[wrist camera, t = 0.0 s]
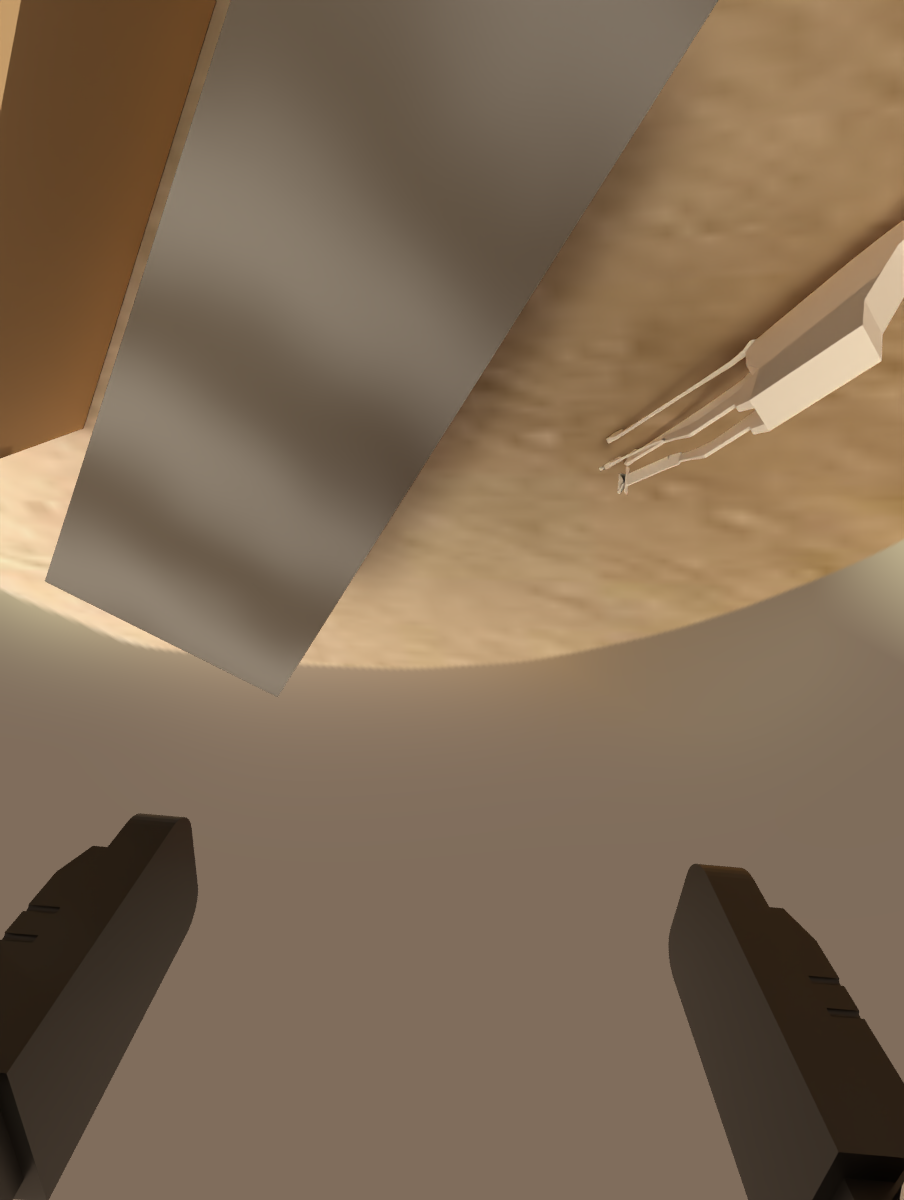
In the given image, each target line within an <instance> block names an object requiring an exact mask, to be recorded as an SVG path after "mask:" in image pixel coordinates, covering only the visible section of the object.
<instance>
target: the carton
mask: <svg viewBox="0 0 904 1200" xmlns="http://www.w3.org/2000/svg"><path fill="white" fill-rule="evenodd" d="M215 2H216V0H0V458H3V457H5V456H8V455H11V454H14V453H16V452H19V451H22V450H25V449H27V448H30V447H33V446H36V445H39V444H41V443H44V442H47V441H50V440H52V439H55V438H58V437H61V436H63V435H66V434H69V433H72V432H74V431H77V430H80V429H83V427H84V424H85V421H86V418H87V414H88V411H89V408H90V405H91V401H92V398H93V395H94V392H95V389H96V385H97V382H98V379H99V376H100V372H101V369H102V366H103V363H104V360H105V356H106V353H107V350H108V347H109V344H110V340H111V337H112V334H113V331H114V327H115V324H116V321H117V318H118V315H119V311H120V308H121V305H122V302H123V298H124V295H125V292H126V289H127V286H128V282H129V279H130V276H131V273H132V270H133V266H134V263H135V260H136V257H137V253H138V250H139V247H140V244H141V241H142V237H143V234H144V231H145V228H146V224H147V221H148V218H149V215H150V212H151V208H152V205H153V202H154V199H155V195H156V192H157V189H158V186H159V183H160V179H161V176H162V173H163V170H164V167H165V163H166V160H167V157H168V154H169V150H170V147H171V144H172V141H173V138H174V134H175V131H176V128H177V125H178V121H179V118H180V115H181V112H182V109H183V105H184V102H185V99H186V96H187V92H188V89H189V86H190V83H191V80H192V76H193V73H194V70H195V67H196V64H197V60H198V57H199V54H200V51H201V47H202V44H203V41H204V38H205V35H206V31H207V28H208V25H209V22H210V18H211V15H212V12H213V9H214V6H215Z"/></svg>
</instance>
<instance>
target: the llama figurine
mask: <svg viewBox="0 0 904 1200" xmlns="http://www.w3.org/2000/svg"><path fill="white" fill-rule="evenodd" d="M903 298H904V220H903V221H901V222H900V223H899V224H897V225H896V226H895V227H893V228H892V229H891V230H889V231H888V232H887V233H885V234H884V235H883V236H881V237H880V238H879V239H878V240H876V241H875V242H874V243H872V244H871V245H870V246H869V247H867V248H866V249H865V250H864V251H862V252H861V253H860V254H858V255H857V256H856V257H855V258H853V259H852V260H851V261H850V262H848V263H847V264H846V265H845V266H844V267H842V268H841V269H840V270H839V271H838V272H836V273H835V274H834V275H833V276H832V277H830V278H829V279H828V280H827V281H826V282H824V283H823V284H822V285H821V286H820V287H818V288H817V289H816V290H815V291H814V292H812V293H811V294H810V295H809V296H808V297H806V298H805V299H804V300H803V301H802V302H800V303H799V304H798V305H797V306H795V307H794V308H793V309H792V310H791V311H789V312H788V313H787V314H786V315H785V316H783V317H782V318H781V319H780V320H779V321H777V322H776V323H775V324H774V325H773V326H771V327H770V328H769V329H768V330H767V331H765V332H764V333H763V334H762V335H761V336H760V337H758V338H757V339H754V340H751V341H749V343H748V344H747V345H746V347H745V348H744V349H743V351H742V352H740V353H739V354H738V355H737V356H736V357H734V358H733V359H732V360H731V361H730V362H728V363H727V364H725V365H724V366H722V367H721V368H719V369H718V370H716V371H715V372H713V373H712V374H710V375H709V376H707V377H706V378H704V379H703V380H701V381H700V382H698V383H697V384H695V385H694V386H692V387H691V388H689V389H688V390H686V391H685V392H683V393H681V394H680V395H678V396H677V397H675V398H674V399H672V400H670V401H669V402H667V403H666V404H664V405H663V406H661V407H659V408H658V409H656V410H655V411H653V412H652V413H650V414H648V415H647V416H645V417H644V418H642V419H640V420H639V421H637V422H636V423H634V424H633V425H631V426H629V427H628V428H626V429H625V430H623V429H620V430H618V431H616V432H615V433H613V434H612V435H611V436H609V437H608V438H607V439H606V440H607V443H611V442H613V441H615V440H617V439H618V438H620V437H621V436H623V435H624V434H626V433H628V432H629V431H631V430H632V429H634V428H635V427H637V426H638V425H640V424H641V423H643V422H645V421H646V420H648V419H649V418H651V417H652V416H654V415H655V414H657V413H658V412H660V411H662V410H663V409H665V408H666V407H668V406H669V405H671V404H672V403H674V402H675V401H677V400H679V399H680V398H682V397H683V396H685V395H686V394H688V393H689V392H691V391H693V390H694V389H696V388H698V387H699V386H701V385H703V384H704V383H706V382H707V381H709V380H711V379H712V378H714V377H716V376H717V375H719V374H720V373H722V372H724V371H725V370H727V369H729V368H730V367H732V366H733V365H734V364H736V363H737V362H739V361H740V360H742V359H743V358H745V357H746V366H747V368H748V369H749V371H750V372H749V373H748V374H747V375H746V376H745V377H744V378H743V379H742V380H741V381H739V382H738V383H737V384H735V385H734V386H732V387H731V388H730V389H728V390H727V391H725V392H724V393H723V394H721V395H720V396H718V397H717V398H716V399H714V400H713V401H711V402H710V403H709V404H707V405H706V406H704V407H703V408H701V409H700V410H698V411H697V412H695V413H694V414H692V415H691V416H689V417H688V418H686V419H685V420H683V421H682V422H680V423H679V424H677V425H676V426H674V427H672V428H671V429H669V430H668V431H666V432H665V433H663V434H662V435H660V436H659V437H657V438H656V439H654V440H653V441H651V442H650V443H648V444H647V445H645V446H643V447H642V448H640V449H638V450H637V449H634V450H633V451H632V452H631V453H629V454H627V455H625V456H623V457H620V456H619V457H617V458H615V459H614V460H612V461H610V462H608V463H606V464H605V465H603V466H602V467H600V468H599V469H600V471H602V470H604V469H606V470H607V469H608V468H610V467H612V466H614V465H615V464H617V463H619V462H621V461H622V460H623V459H625V458H627V459H626V461H625V462H624V464H625V465H626V474H621V473H619V481H618V492H617V493H619V494H621V492H622V491H623V489H624V493H625V494H626V495H628V486H629V485H631V484H634V483H636V482H638V481H641V480H643V479H645V478H648V477H650V476H652V475H655V474H657V473H659V472H662V471H664V470H666V469H669V468H672V467H674V466H677V465H679V464H680V462H684V461H688V460H694V459H702V458H706V457H708V456H709V455H711V454H713V453H714V452H716V451H717V450H719V449H721V448H722V447H724V446H725V445H727V444H729V443H730V442H732V441H733V440H735V439H737V438H738V437H740V436H741V435H743V434H745V433H746V432H748V431H749V430H751V431H752V433H753V434H759V433H764V432H769V431H771V430H772V429H774V428H776V427H777V426H779V425H780V424H782V423H784V422H785V421H787V420H788V419H790V418H791V417H793V416H795V415H796V414H798V413H799V412H801V411H803V410H804V409H806V408H807V407H809V406H811V405H812V404H814V403H815V402H817V401H819V400H820V399H822V398H823V397H825V396H827V395H828V394H830V393H831V392H833V391H834V390H836V389H838V388H839V387H841V386H842V385H844V384H846V383H847V382H849V381H850V380H852V379H854V378H855V377H857V376H858V375H860V374H862V373H863V372H865V371H866V370H868V369H870V368H871V367H873V366H874V365H876V364H878V363H879V362H881V361H882V336H883V333H884V331H885V329H886V328H887V326H888V324H889V322H890V321H891V319H892V317H893V315H894V314H895V312H896V310H897V308H898V306H899V305H900V303H901V301H902V300H903ZM734 408H736V409H737V410H738V412H741V411H745V410H750V409H754V408H755V411H754V412H752V413H751V414H749V415H748V416H747V417H745V418H744V419H743V420H741V421H740V422H738V423H737V424H736V425H734V426H733V427H731V428H730V429H729V430H727V431H726V432H724V433H723V434H721V435H720V436H719V437H717V438H716V439H714V440H713V441H711V442H709V443H707V444H704V445H702V446H700V447H698V448H696V449H694V450H691V451H688V452H685V453H681V452H679V453H676V454H673V455H669V456H667V457H665V458H663V459H660V460H658V461H656V462H654V463H651V464H649V465H647V466H645V467H642V468H640V469H638V470H636V471H634V472H631V473H629V470H630V468H628V467H627V466H629V465H630V464H632V463H633V462H634V461H636V460H638V459H639V458H641V457H642V456H644V455H646V454H647V453H649V452H651V451H652V450H654V449H656V448H657V447H659V446H661V445H662V444H664V443H667V442H670V441H673V440H677V439H683V438H689V437H692V436H693V435H695V434H696V433H698V432H699V431H701V430H702V429H704V428H705V427H707V426H708V425H710V424H711V423H713V422H715V421H716V420H718V419H719V418H721V417H722V416H724V415H725V414H727V413H728V412H730V411H731V410H733V409H734Z"/></svg>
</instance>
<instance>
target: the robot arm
mask: <svg viewBox="0 0 904 1200" xmlns="http://www.w3.org/2000/svg"><path fill="white" fill-rule="evenodd" d="M197 896H198V884H197V875H196V866H195V856H194V847H193V838H192V828H191V824H190V821H189V819H187V818H185V817H173V816H163V815H151V814H136V815H135V816H133V817H132V818H131V819H130V820H129V821H128V822H127V823H126V824H125V826H124V827H123V828H122V830H121V831H120V832H119V834H118V835H117V836H116V837H115V839H114V840H113V841H112V843H111V844H110V845H109V846H108V847H99V846H92V847H91V848H89V849H88V850H86V851H85V852H84V853H82V854H81V855H79V856H78V857H77V858H75V859H74V860H72V861H71V862H70V863H68V864H67V865H66V866H64V867H63V868H61V869H60V870H58V871H57V872H56V873H55V874H54V875H53V876H52V878H51V879H50V880H49V881H48V882H47V884H46V885H45V886H44V887H43V888H42V889H41V891H40V892H39V893H38V894H37V895H36V896H35V898H34V899H33V900H32V901H31V902H30V903H29V907H28V909H27V911H23V912H22V913H21V914H20V915H19V916H18V918H17V919H16V920H15V921H14V922H13V924H12V925H11V926H10V927H9V928H8V929H7V931H6V932H5V936H4V938H3V939H2V940H0V1200H13V1199H21V1200H49V1198H50V1196H51V1194H52V1192H53V1190H54V1188H55V1187H56V1184H57V1183H58V1181H59V1179H60V1177H61V1175H62V1173H63V1171H64V1169H65V1167H66V1165H67V1163H68V1161H69V1159H70V1158H71V1156H72V1154H73V1152H74V1150H75V1148H76V1146H77V1144H78V1142H79V1140H80V1138H81V1136H82V1134H83V1133H84V1130H85V1128H86V1127H87V1125H88V1123H89V1121H90V1119H91V1117H92V1115H93V1113H94V1111H95V1109H96V1107H97V1105H98V1104H99V1102H100V1100H101V1098H102V1096H103V1094H104V1092H105V1090H106V1088H107V1086H108V1084H109V1082H110V1080H111V1078H112V1076H113V1075H114V1073H115V1070H116V1069H117V1067H118V1065H119V1063H120V1061H121V1059H122V1057H123V1055H124V1053H125V1051H126V1050H127V1047H128V1046H129V1044H130V1042H131V1040H132V1038H133V1036H134V1034H135V1032H136V1030H137V1028H138V1026H139V1024H140V1022H141V1021H142V1019H143V1017H144V1015H145V1013H146V1011H147V1009H148V1007H149V1005H150V1003H151V1001H152V999H153V997H154V996H155V994H156V992H157V990H158V988H159V986H160V984H161V982H162V980H163V978H164V976H165V974H166V972H167V970H168V968H169V966H170V964H171V963H172V961H173V959H174V957H175V955H176V953H177V951H178V949H179V947H180V945H181V943H182V942H183V940H184V938H185V936H186V934H187V932H188V930H189V927H190V925H191V922H192V919H193V915H194V912H195V908H196V903H197ZM669 959H670V966H671V970H672V974H673V978H674V981H675V984H676V987H677V990H678V993H679V996H680V999H681V1002H682V1005H683V1007H684V1011H685V1014H686V1016H687V1019H688V1022H689V1025H690V1028H691V1031H692V1034H693V1037H694V1040H695V1043H696V1046H697V1049H698V1052H699V1055H700V1058H701V1061H702V1064H703V1067H704V1070H705V1073H706V1076H707V1079H708V1082H709V1085H710V1087H711V1091H712V1093H713V1097H714V1100H715V1103H716V1105H717V1108H718V1111H719V1114H720V1117H721V1120H722V1123H723V1126H724V1129H725V1132H726V1135H727V1138H728V1141H729V1144H730V1147H731V1150H732V1153H733V1156H734V1158H735V1162H736V1165H737V1168H738V1171H739V1174H740V1176H741V1179H742V1183H743V1185H744V1188H745V1191H746V1194H747V1197H748V1200H904V1083H903V1082H902V1080H901V1078H900V1077H899V1075H898V1073H897V1071H896V1070H895V1068H894V1067H893V1065H892V1063H891V1062H890V1060H889V1058H888V1057H887V1055H886V1054H885V1052H884V1051H883V1049H882V1047H881V1045H880V1044H879V1042H878V1041H877V1039H876V1038H875V1036H874V1034H873V1033H872V1031H871V1029H870V1028H869V1026H868V1025H867V1023H866V1021H865V1019H861V1018H860V1016H859V1010H858V1008H857V1006H856V1005H855V1003H854V1002H853V1000H852V998H851V997H850V995H849V993H848V992H847V990H846V989H845V987H844V986H841V985H840V983H839V977H838V976H837V974H836V972H835V971H834V969H833V967H832V966H831V964H830V963H829V961H828V959H827V958H826V956H825V954H824V953H823V951H822V950H821V948H820V946H819V945H818V943H817V941H816V940H815V939H814V938H813V937H812V936H811V935H810V934H809V933H808V932H807V931H805V929H803V928H802V926H801V925H800V924H799V923H798V922H796V921H795V920H794V919H793V918H792V917H791V916H790V915H789V914H788V913H787V912H786V911H785V910H784V909H783V908H772V907H769V906H768V904H767V902H766V901H765V899H764V897H763V895H762V894H761V892H760V890H759V888H758V886H757V885H756V883H755V881H754V880H753V878H752V877H751V875H750V874H749V873H748V871H746V870H745V869H743V868H736V867H725V866H713V865H702V864H693V865H692V866H691V867H690V868H689V870H688V873H687V876H686V879H685V883H684V886H683V889H682V893H681V896H680V899H679V903H678V906H677V909H676V913H675V916H674V919H673V923H672V926H671V929H670V935H669Z"/></svg>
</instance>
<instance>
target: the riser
mask: <svg viewBox="0 0 904 1200" xmlns="http://www.w3.org/2000/svg"><path fill="white" fill-rule="evenodd" d="M717 2H718V0H231V2H230V5H229V8H228V11H227V14H226V17H225V20H224V23H223V27H222V30H221V33H220V36H219V39H218V42H217V45H216V48H215V52H214V55H213V58H212V61H211V64H210V67H209V70H208V73H207V77H206V80H205V83H204V86H203V89H202V92H201V95H200V98H199V101H198V105H197V108H196V111H195V114H194V117H193V120H192V123H191V126H190V130H189V133H188V136H187V139H186V142H185V145H184V148H183V151H182V155H181V158H180V161H179V164H178V167H177V170H176V173H175V176H174V180H173V183H172V186H171V189H170V192H169V195H168V198H167V201H166V205H165V208H164V211H163V214H162V217H161V220H160V223H159V226H158V230H157V233H156V236H155V239H154V242H153V245H152V248H151V251H150V255H149V258H148V261H147V264H146V267H145V270H144V273H143V276H142V280H141V283H140V286H139V289H138V292H137V295H136V298H135V301H134V305H133V308H132V311H131V314H130V317H129V320H128V323H127V326H126V329H125V333H124V336H123V339H122V342H121V345H120V348H119V351H118V354H117V358H116V361H115V364H114V367H113V370H112V373H111V376H110V379H109V383H108V386H107V389H106V392H105V395H104V398H103V401H102V404H101V408H100V411H99V414H98V417H97V420H96V423H95V426H94V429H93V433H92V436H91V439H90V442H89V445H88V448H87V451H86V454H85V458H84V461H83V464H82V467H81V470H80V473H79V476H78V479H77V483H76V486H75V489H74V492H73V495H72V498H71V501H70V504H69V508H68V511H67V514H66V517H65V520H64V523H63V526H62V529H61V533H60V536H59V539H58V542H57V545H56V548H55V551H54V554H53V558H52V561H51V564H50V567H49V570H48V573H47V576H46V579H45V582H47V583H49V584H51V585H53V586H55V587H57V588H59V589H61V590H63V591H65V592H67V593H69V594H71V595H73V596H75V597H77V598H79V599H81V600H83V601H85V602H87V603H89V604H91V605H93V606H95V607H97V608H99V609H101V610H103V611H105V612H107V613H109V614H111V615H113V616H116V617H118V618H120V619H122V620H124V621H126V622H128V623H130V624H132V625H134V626H136V627H138V628H140V629H142V630H144V631H146V632H148V633H150V634H152V635H154V636H156V637H158V638H160V639H162V640H164V641H166V642H168V643H170V644H172V645H174V646H176V647H178V648H180V649H182V650H184V651H186V652H188V653H190V654H192V655H194V656H196V657H198V658H200V659H202V660H204V661H206V662H208V663H210V664H212V665H214V666H216V667H218V668H220V669H222V670H224V671H226V672H228V673H230V674H232V675H234V676H236V677H238V678H240V679H242V680H244V681H246V682H248V683H250V684H252V685H254V686H256V687H258V688H260V689H262V690H264V691H266V692H268V693H270V694H272V695H274V696H276V697H278V696H279V694H280V692H281V691H282V690H283V688H284V686H285V685H286V683H287V682H288V680H289V678H290V677H291V675H292V673H293V672H294V671H295V669H296V667H297V666H298V664H299V663H300V661H301V659H302V658H303V656H304V655H305V653H306V652H307V650H308V648H309V647H310V645H311V644H312V642H313V640H314V639H315V637H316V636H317V634H318V633H319V631H320V629H321V628H322V626H323V625H324V623H325V622H326V620H327V618H328V617H329V615H330V614H331V612H332V610H333V609H334V607H335V606H336V604H337V603H338V601H339V599H340V598H341V596H342V595H343V593H344V591H345V590H346V588H347V587H348V585H349V584H350V582H351V580H352V579H353V577H354V576H355V574H356V572H357V571H358V569H359V568H360V566H361V565H362V563H363V561H364V560H365V558H366V557H367V555H368V554H369V552H370V550H371V549H372V547H373V546H374V544H375V542H376V541H377V539H378V538H379V536H380V535H381V533H382V531H383V530H384V528H385V527H386V525H387V523H388V522H389V520H390V519H391V517H392V516H393V514H394V512H395V511H396V509H397V508H398V506H399V504H400V503H401V501H402V500H403V498H404V497H405V495H406V493H407V492H408V490H409V489H410V487H411V486H412V484H413V482H414V481H415V479H416V478H417V476H418V474H419V473H420V471H421V470H422V468H423V467H424V465H425V463H426V462H427V460H428V459H429V457H430V455H431V454H432V452H433V451H434V449H435V448H436V446H437V444H438V443H439V441H440V440H441V438H442V437H443V435H444V433H445V432H446V430H447V429H448V427H449V425H450V424H451V422H452V421H453V419H454V418H455V416H456V414H457V413H458V411H459V410H460V408H461V406H462V405H463V403H464V402H465V400H466V399H467V397H468V395H469V394H470V392H471V391H472V389H473V387H474V386H475V384H476V383H477V381H478V380H479V378H480V376H481V375H482V373H483V372H484V370H485V369H486V367H487V365H488V364H489V362H490V361H491V359H492V357H493V356H494V354H495V353H496V351H497V350H498V348H499V346H500V345H501V343H502V342H503V340H504V338H505V337H506V335H507V334H508V332H509V331H510V329H511V327H512V326H513V324H514V323H515V321H516V319H517V318H518V316H519V315H520V313H521V312H522V310H523V308H524V307H525V305H526V304H527V302H528V301H529V299H530V297H531V296H532V294H533V293H534V291H535V289H536V288H537V286H538V285H539V283H540V282H541V280H542V278H543V277H544V275H545V274H546V272H547V270H548V269H549V267H550V266H551V264H552V263H553V261H554V259H555V258H556V256H557V255H558V253H559V252H560V250H561V248H562V247H563V245H564V244H565V242H566V240H567V239H568V237H569V236H570V234H571V233H572V231H573V229H574V228H575V226H576V225H577V223H578V221H579V220H580V218H581V217H582V215H583V214H584V212H585V210H586V209H587V207H588V206H589V204H590V202H591V201H592V199H593V198H594V196H595V195H596V193H597V191H598V190H599V188H600V187H601V185H602V184H603V182H604V180H605V179H606V177H607V176H608V174H609V172H610V171H611V169H612V168H613V166H614V165H615V163H616V161H617V160H618V158H619V157H620V155H621V153H622V152H623V150H624V149H625V147H626V146H627V144H628V142H629V141H630V139H631V138H632V136H633V134H634V133H635V131H636V130H637V128H638V127H639V125H640V123H641V122H642V120H643V119H644V117H645V116H646V114H647V112H648V111H649V109H650V108H651V106H652V104H653V103H654V101H655V100H656V98H657V97H658V95H659V93H660V92H661V90H662V89H663V87H664V85H665V84H666V82H667V81H668V79H669V78H670V76H671V74H672V73H673V71H674V70H675V68H676V66H677V65H678V63H679V62H680V60H681V59H682V57H683V55H684V54H685V52H686V51H687V49H688V48H689V46H690V44H691V43H692V41H693V40H694V38H695V36H696V35H697V33H698V32H699V30H700V29H701V27H702V25H703V24H704V22H705V21H706V19H707V17H708V16H709V14H710V13H711V11H712V10H713V8H714V6H715V5H716V3H717Z"/></svg>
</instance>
